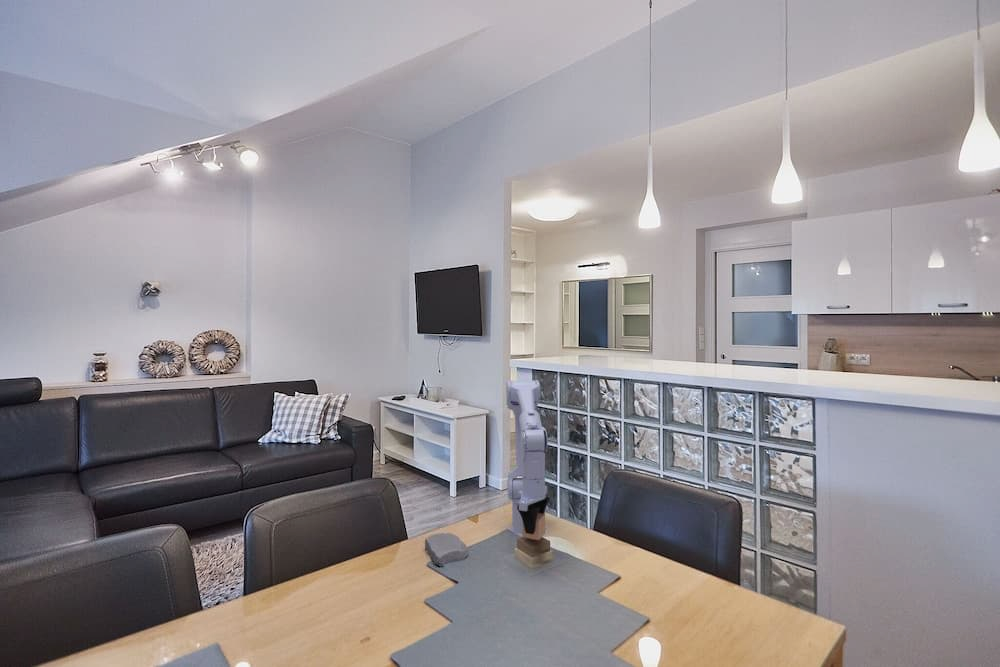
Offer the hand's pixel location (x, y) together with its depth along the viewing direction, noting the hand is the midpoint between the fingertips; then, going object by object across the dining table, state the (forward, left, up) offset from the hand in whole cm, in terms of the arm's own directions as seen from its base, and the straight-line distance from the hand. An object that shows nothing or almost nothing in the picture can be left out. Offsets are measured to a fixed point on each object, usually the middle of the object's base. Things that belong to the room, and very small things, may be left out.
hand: (533, 529), depth 126 cm
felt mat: (0, 0, -8) cm, 8 cm away
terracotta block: (0, 0, -2) cm, 2 cm away
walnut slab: (0, 0, -5) cm, 5 cm away
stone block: (+16, -17, -9) cm, 24 cm away
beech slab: (0, 0, -8) cm, 8 cm away
